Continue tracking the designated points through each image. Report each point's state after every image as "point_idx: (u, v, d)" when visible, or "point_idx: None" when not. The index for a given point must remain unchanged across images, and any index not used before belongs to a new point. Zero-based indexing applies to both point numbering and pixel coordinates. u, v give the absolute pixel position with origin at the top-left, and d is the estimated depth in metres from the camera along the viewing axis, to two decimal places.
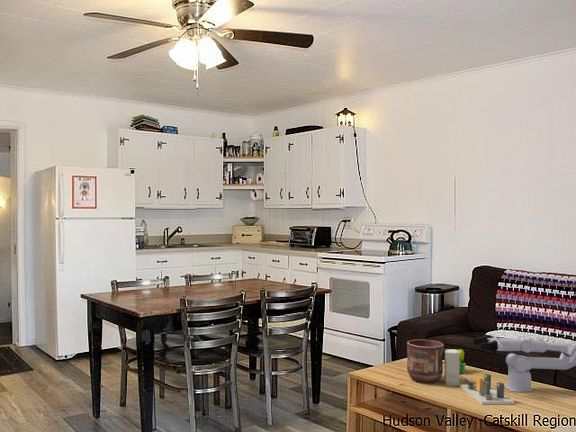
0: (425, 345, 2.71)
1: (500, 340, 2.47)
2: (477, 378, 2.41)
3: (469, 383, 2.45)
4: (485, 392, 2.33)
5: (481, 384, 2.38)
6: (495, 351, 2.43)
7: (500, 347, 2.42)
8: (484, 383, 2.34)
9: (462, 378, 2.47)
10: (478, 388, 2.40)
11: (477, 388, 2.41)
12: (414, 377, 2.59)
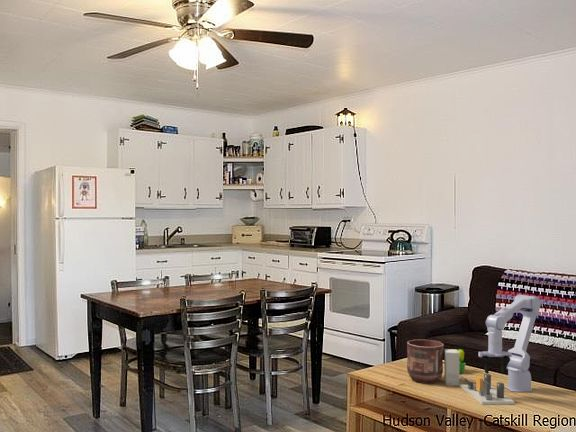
0: (425, 345, 2.71)
1: (501, 350, 2.39)
2: (477, 378, 2.41)
3: (469, 383, 2.45)
4: (485, 392, 2.33)
5: (481, 384, 2.38)
6: None
7: None
8: (484, 383, 2.34)
9: (462, 378, 2.47)
10: (478, 388, 2.40)
11: (477, 388, 2.41)
12: (414, 377, 2.59)
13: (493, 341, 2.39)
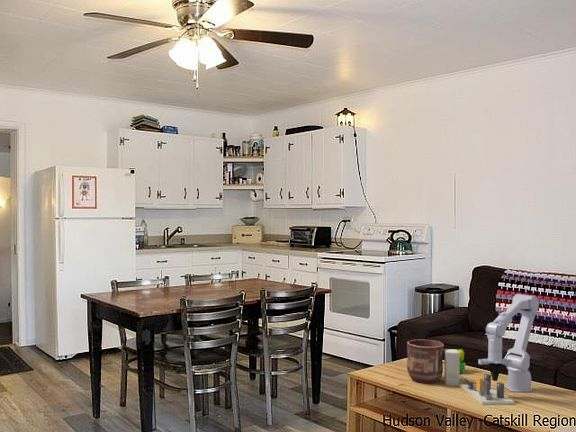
0: (425, 345, 2.71)
1: (501, 358, 2.39)
2: (477, 378, 2.41)
3: (469, 383, 2.45)
4: (485, 392, 2.33)
5: (481, 384, 2.38)
6: None
7: None
8: (484, 383, 2.34)
9: (462, 378, 2.47)
10: (478, 388, 2.40)
11: (477, 388, 2.41)
12: (414, 377, 2.59)
13: (493, 349, 2.39)
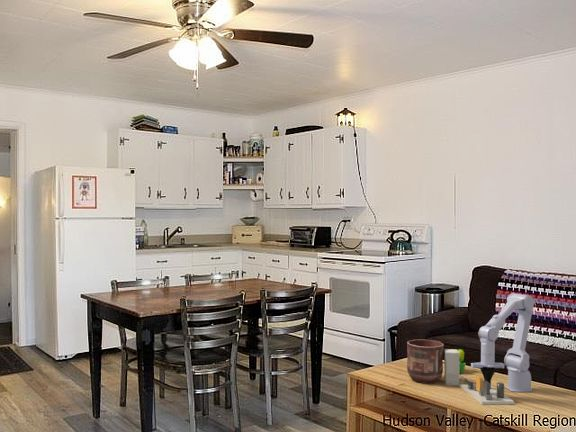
0: (425, 345, 2.71)
1: (493, 361, 2.39)
2: (477, 378, 2.41)
3: (469, 383, 2.45)
4: (485, 392, 2.33)
5: (481, 384, 2.38)
6: None
7: None
8: (484, 383, 2.34)
9: (462, 378, 2.47)
10: (478, 388, 2.40)
11: (477, 388, 2.41)
12: (414, 377, 2.59)
13: (485, 352, 2.39)
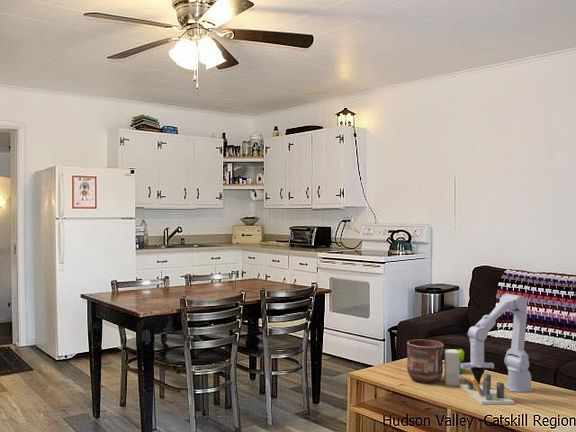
0: (425, 345, 2.71)
1: (483, 361, 2.38)
2: (471, 380, 2.41)
3: (469, 383, 2.45)
4: (485, 392, 2.33)
5: (477, 385, 2.38)
6: None
7: None
8: (484, 383, 2.34)
9: (462, 378, 2.47)
10: (477, 389, 2.40)
11: (476, 389, 2.41)
12: (414, 377, 2.59)
13: (474, 352, 2.38)
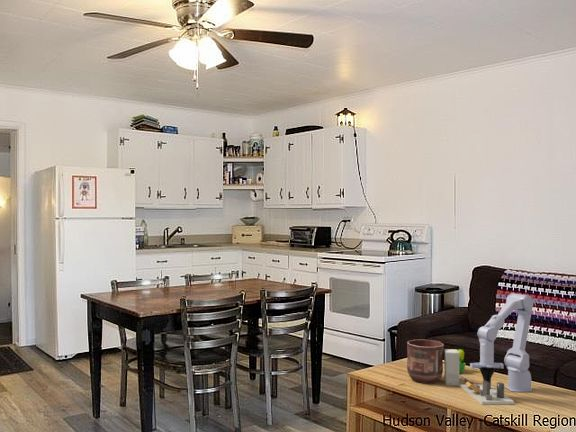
0: (425, 345, 2.71)
1: (492, 362, 2.39)
2: (468, 385, 2.41)
3: None
4: (485, 392, 2.33)
5: (474, 388, 2.38)
6: None
7: None
8: (484, 383, 2.34)
9: (462, 378, 2.47)
10: None
11: None
12: (414, 377, 2.59)
13: (484, 352, 2.39)
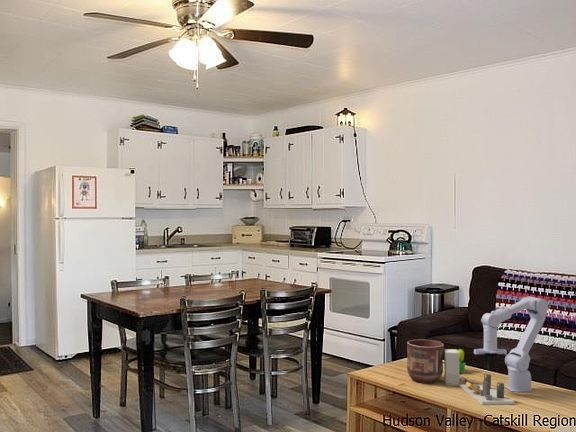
0: (425, 345, 2.71)
1: (496, 347, 2.44)
2: (468, 385, 2.41)
3: None
4: (485, 392, 2.33)
5: (474, 388, 2.38)
6: None
7: None
8: (484, 383, 2.34)
9: (462, 378, 2.47)
10: None
11: None
12: (414, 377, 2.59)
13: (486, 338, 2.44)
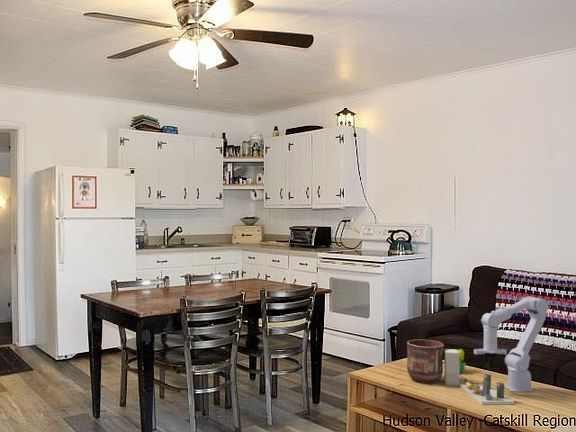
0: (425, 345, 2.71)
1: (496, 347, 2.44)
2: (468, 385, 2.41)
3: None
4: (485, 392, 2.33)
5: (474, 388, 2.38)
6: None
7: None
8: (484, 383, 2.34)
9: (462, 378, 2.47)
10: None
11: None
12: (414, 377, 2.59)
13: (486, 338, 2.44)
